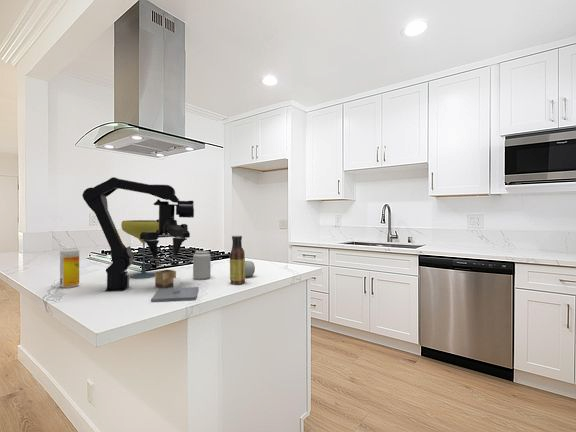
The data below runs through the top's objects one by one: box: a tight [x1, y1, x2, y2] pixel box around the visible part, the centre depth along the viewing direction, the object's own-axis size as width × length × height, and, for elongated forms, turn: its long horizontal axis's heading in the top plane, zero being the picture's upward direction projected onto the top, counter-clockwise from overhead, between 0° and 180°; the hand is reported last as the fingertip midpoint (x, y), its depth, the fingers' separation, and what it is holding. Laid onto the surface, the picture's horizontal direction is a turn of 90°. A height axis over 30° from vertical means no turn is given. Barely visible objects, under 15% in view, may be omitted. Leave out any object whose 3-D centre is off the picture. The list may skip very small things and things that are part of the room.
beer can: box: [59, 246, 80, 289], centre depth 119 cm, size 6×6×15 cm
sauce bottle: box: [229, 234, 246, 285], centre depth 127 cm, size 6×6×20 cm
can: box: [192, 250, 212, 281], centre depth 136 cm, size 8×8×12 cm
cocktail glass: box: [121, 219, 159, 279], centre depth 139 cm, size 18×18×25 cm
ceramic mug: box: [245, 260, 256, 278], centre depth 141 cm, size 11×8×8 cm
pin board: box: [150, 277, 200, 303], centre depth 108 cm, size 14×14×6 cm
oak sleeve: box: [154, 268, 177, 289], centre depth 121 cm, size 5×5×6 cm
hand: (165, 256), depth 120 cm, fingers open, 9 cm apart
